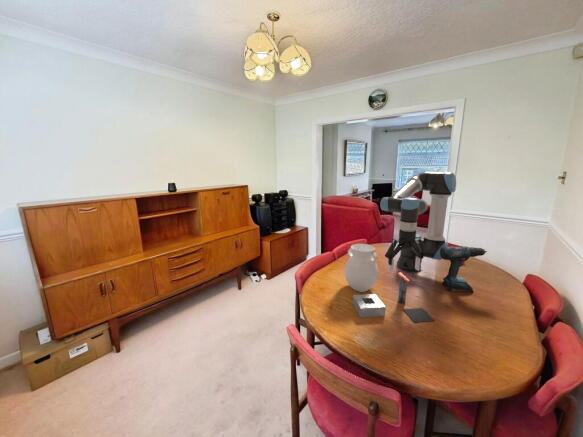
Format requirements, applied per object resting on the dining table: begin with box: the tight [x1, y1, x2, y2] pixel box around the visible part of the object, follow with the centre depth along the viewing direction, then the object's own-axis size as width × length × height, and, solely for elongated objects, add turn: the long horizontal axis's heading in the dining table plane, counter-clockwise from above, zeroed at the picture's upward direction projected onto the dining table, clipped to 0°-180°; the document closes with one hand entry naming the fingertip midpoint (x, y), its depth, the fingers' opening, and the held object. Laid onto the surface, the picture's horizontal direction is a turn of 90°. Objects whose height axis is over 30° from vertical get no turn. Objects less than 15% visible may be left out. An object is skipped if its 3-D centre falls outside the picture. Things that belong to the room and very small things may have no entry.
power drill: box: [440, 245, 488, 293], centre depth 140 cm, size 9×23×25 cm, turn 78°
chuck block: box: [352, 293, 387, 319], centre depth 123 cm, size 12×12×5 cm
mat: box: [402, 307, 436, 324], centre depth 118 cm, size 10×10×1 cm
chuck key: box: [397, 272, 411, 304], centre depth 128 cm, size 9×4×14 cm, turn 4°
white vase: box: [344, 243, 379, 293], centre depth 142 cm, size 19×18×25 cm
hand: (404, 270), depth 126 cm, fingers open, 13 cm apart
